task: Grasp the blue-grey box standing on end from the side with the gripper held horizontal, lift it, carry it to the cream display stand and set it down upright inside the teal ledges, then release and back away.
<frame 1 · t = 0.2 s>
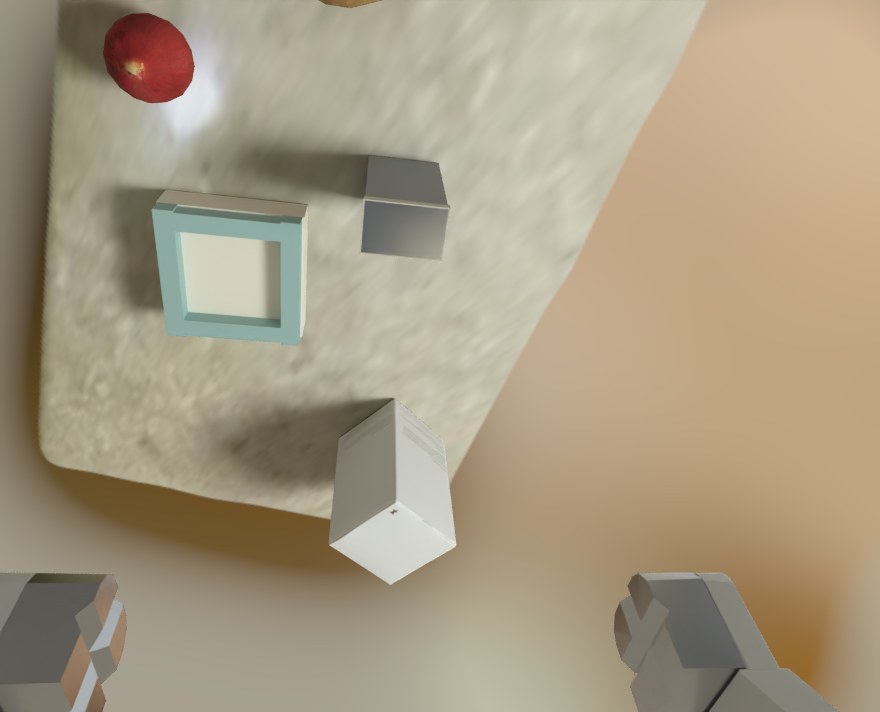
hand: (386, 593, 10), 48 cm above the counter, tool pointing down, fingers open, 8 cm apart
onion: (165, 50, 48), on the counter
supplement box: (391, 439, 71), on the counter
display stand: (240, 259, 58), on the counter
blue-grey box: (401, 181, 55), on the counter
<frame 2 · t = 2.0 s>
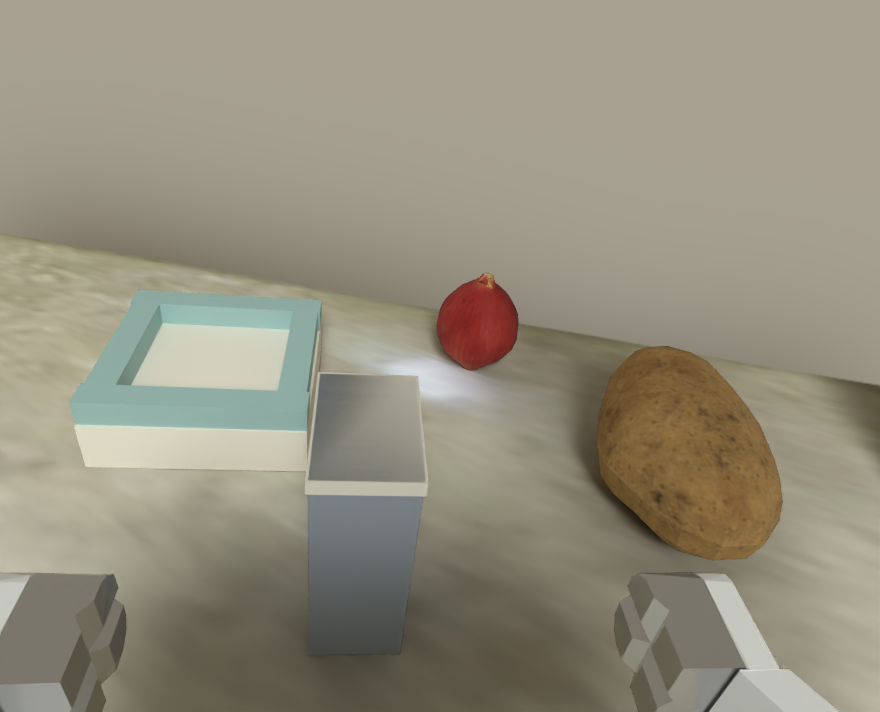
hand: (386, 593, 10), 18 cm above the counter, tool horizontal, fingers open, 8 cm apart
potato: (659, 505, 38), on the counter
onion: (469, 369, 47), on the counter
display stand: (220, 401, 40), on the counter
blue-grey box: (356, 594, 30), on the counter
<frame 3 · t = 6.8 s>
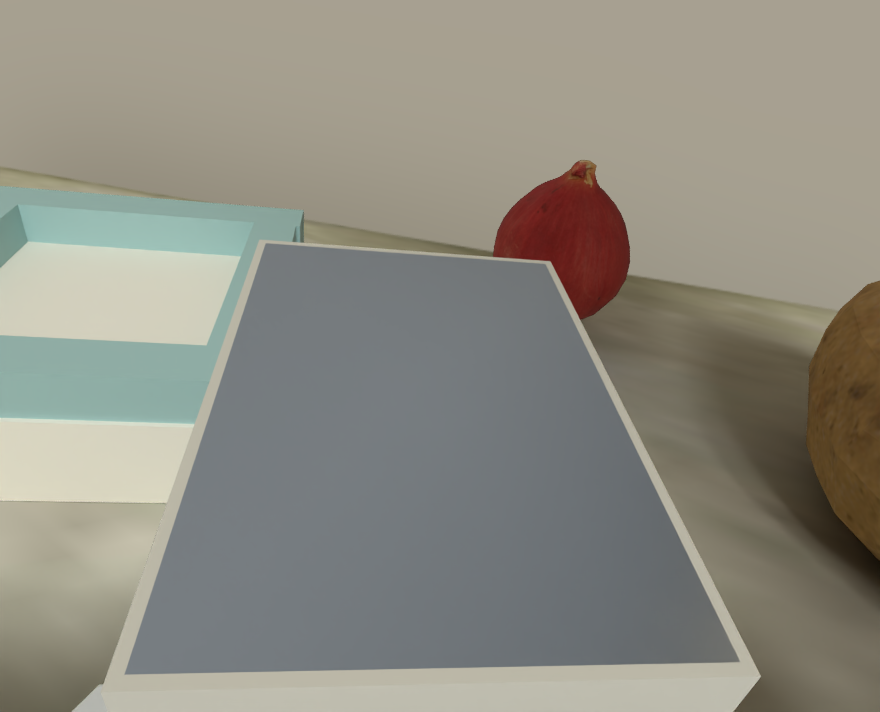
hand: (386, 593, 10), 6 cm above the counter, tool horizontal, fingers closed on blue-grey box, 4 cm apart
onion: (540, 331, 29), on the counter
display stand: (122, 375, 23), on the counter
when the fingers open (10 cm above the counter, at t = 11.4 s): blue-grey box stays where it is, resting on display stand.
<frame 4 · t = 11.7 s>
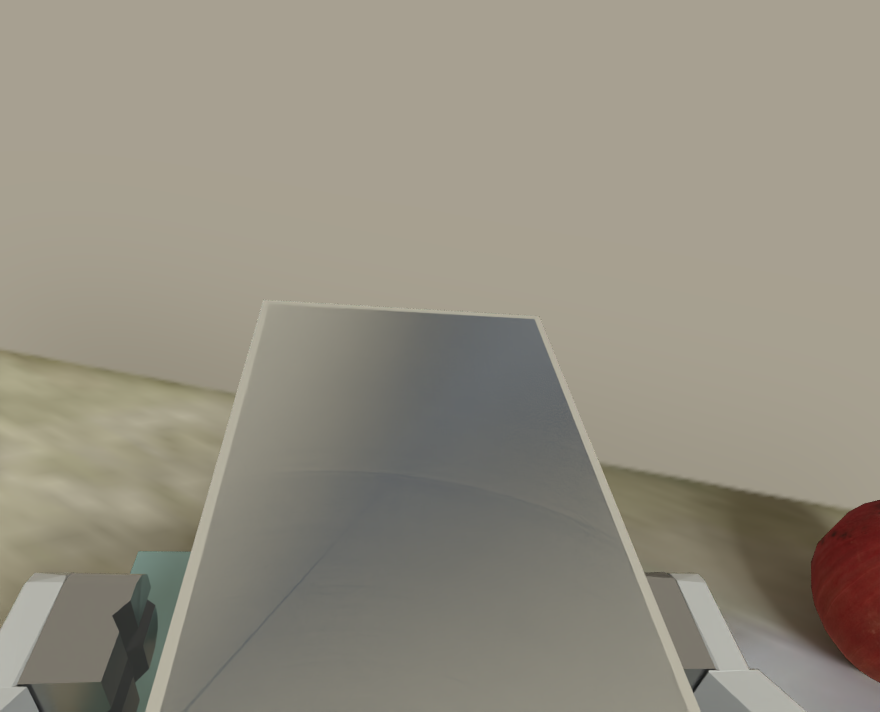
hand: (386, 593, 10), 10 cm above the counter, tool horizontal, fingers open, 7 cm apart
onion: (857, 663, 21), on the counter
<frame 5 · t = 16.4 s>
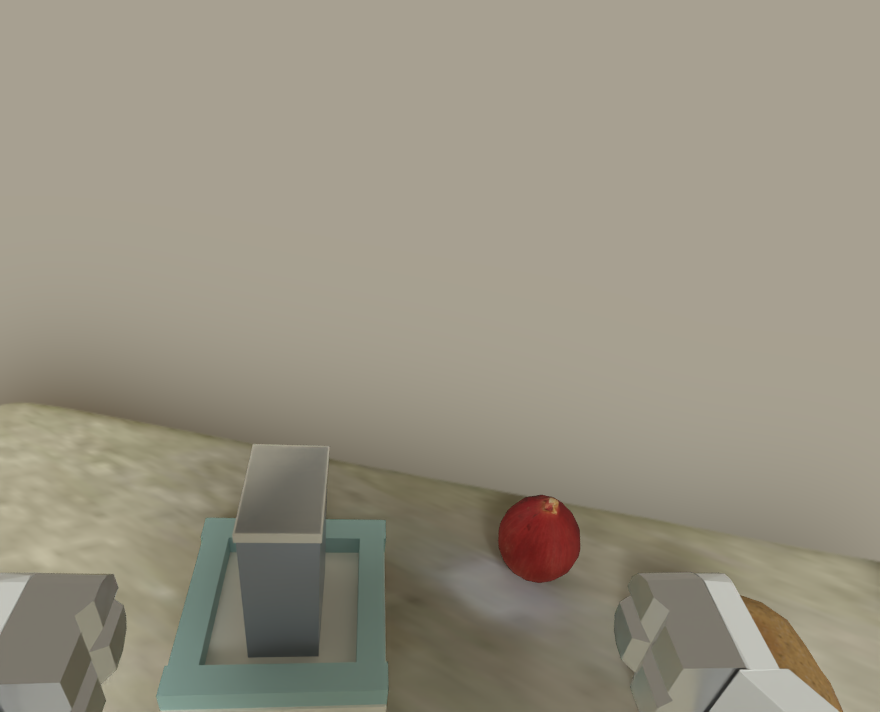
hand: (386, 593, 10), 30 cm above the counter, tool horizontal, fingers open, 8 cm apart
onion: (527, 572, 47), on the counter
display stand: (289, 636, 40), on the counter
blue-grey box: (289, 610, 39), point 3 cm above the counter, touching display stand
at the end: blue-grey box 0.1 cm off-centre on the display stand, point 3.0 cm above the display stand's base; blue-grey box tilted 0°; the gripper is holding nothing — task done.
